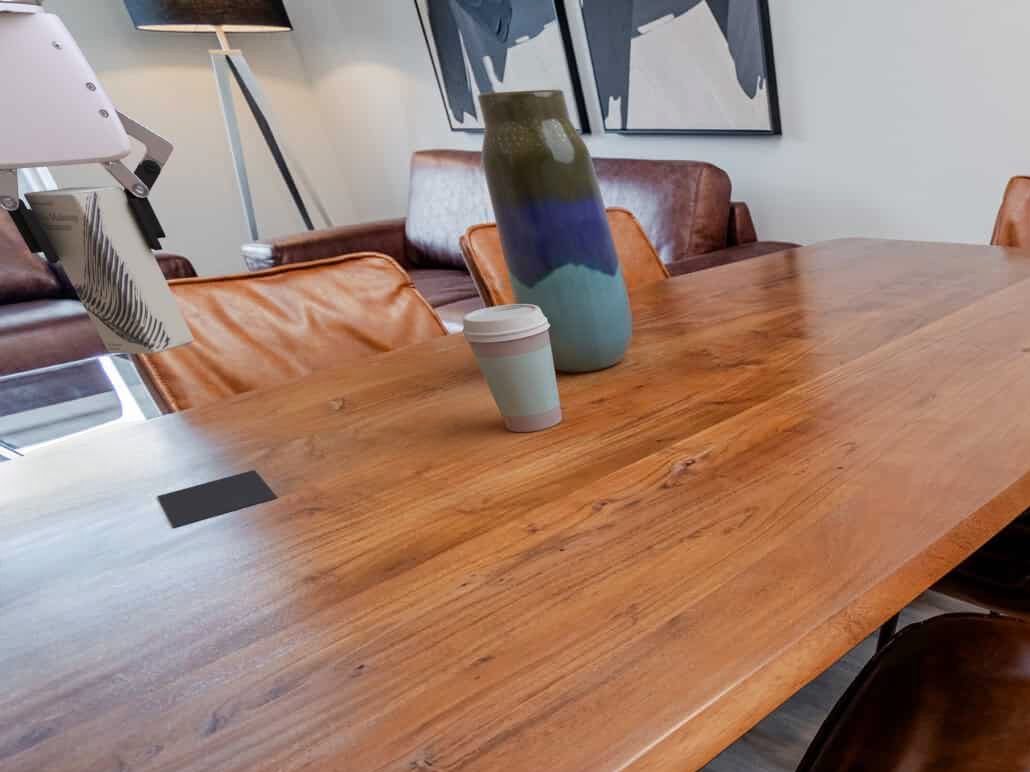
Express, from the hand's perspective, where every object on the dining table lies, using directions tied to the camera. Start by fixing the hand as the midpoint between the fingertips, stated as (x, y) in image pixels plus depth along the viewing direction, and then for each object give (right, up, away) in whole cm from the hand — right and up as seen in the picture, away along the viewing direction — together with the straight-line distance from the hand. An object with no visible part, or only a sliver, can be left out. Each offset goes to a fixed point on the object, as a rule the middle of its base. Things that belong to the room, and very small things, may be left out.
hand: (105, 252), depth 69 cm
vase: (+25, +2, +41) cm, 48 cm away
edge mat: (+2, -20, +9) cm, 22 cm away
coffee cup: (+26, -10, +22) cm, 36 cm away
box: (0, -7, +4) cm, 8 cm away
